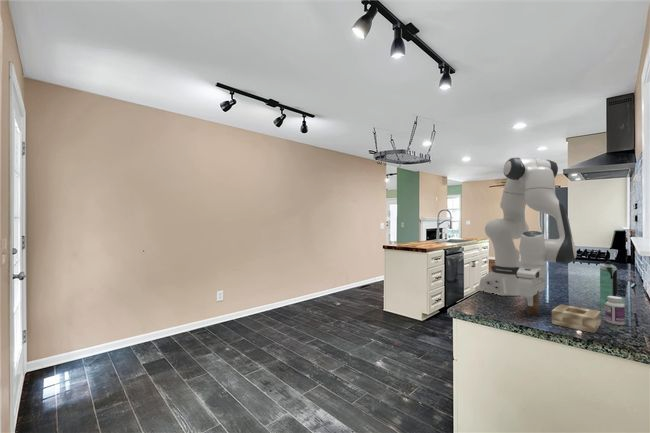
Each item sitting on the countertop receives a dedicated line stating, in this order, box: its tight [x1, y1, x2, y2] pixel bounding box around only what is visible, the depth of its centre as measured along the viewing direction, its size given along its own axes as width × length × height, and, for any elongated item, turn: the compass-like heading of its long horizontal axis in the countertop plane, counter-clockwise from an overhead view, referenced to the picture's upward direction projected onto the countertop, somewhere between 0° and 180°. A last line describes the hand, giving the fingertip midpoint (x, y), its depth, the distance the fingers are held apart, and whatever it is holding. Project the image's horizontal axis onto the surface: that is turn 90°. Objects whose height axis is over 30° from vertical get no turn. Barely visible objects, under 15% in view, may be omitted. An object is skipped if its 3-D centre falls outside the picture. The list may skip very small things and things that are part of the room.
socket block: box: [551, 303, 602, 334], centre depth 111 cm, size 12×12×5 cm
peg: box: [526, 291, 540, 317], centre depth 123 cm, size 4×4×10 cm
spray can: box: [599, 260, 618, 307], centre depth 133 cm, size 6×6×20 cm
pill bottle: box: [604, 296, 626, 326], centre depth 112 cm, size 5×5×10 cm
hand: (533, 304), depth 123 cm, fingers closed on peg, 4 cm apart
